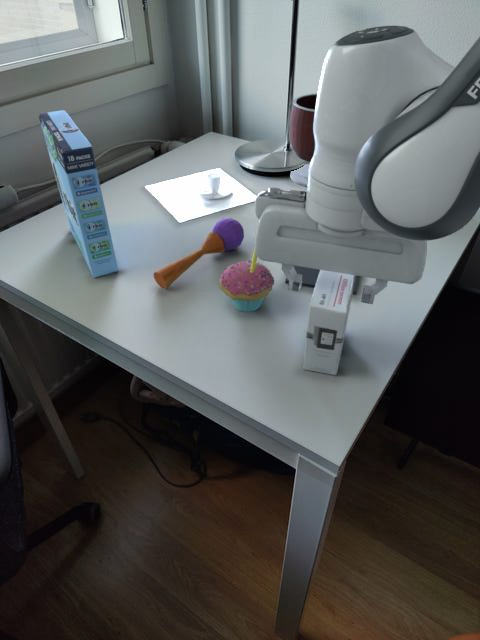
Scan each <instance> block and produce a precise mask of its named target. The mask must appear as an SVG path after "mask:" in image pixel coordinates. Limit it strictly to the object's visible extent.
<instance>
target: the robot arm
mask: <svg viewBox="0 0 480 640" xmlns="http://www.w3.org/2000/svg"><path fill="white" fill-rule="evenodd" d="M320 72H321V73H320V78H319V83H318V89H317V100H316V107H315V115H314V124H313V133H314V138H315V150H314V154H313V157H312V159H311V162H309V164H310V166H309V174H308V184H307V187H306V191H305V190H296V189H282V188H279V187H269V188H268V189H267V190H262V191H260V193H258V194H257V195H256V196H257V197H256V201H254V202H255V204H254V207H255V208H254V213H255V216H256V218H257V220H258V224H257V228H256V232H255V233H256V234H255V239H254V240H255V242H254V248H255V253H256V255H257V259H259V260H260V261H264V262H270V263H275V264H276V263H277V264H281V270H282V272H283V274H284V276H285V277H286V278H287V279H288V280H289V284H288V291H293V292H299V293H300V291H301V288H302V286H301V285H302V277H303V275H302V274H297V273H296V271H295V269H294V267H293V266H300V267H307V268H313V269H319V270H325V271H331V272H338V273H344V274H350V275H356V276H358V277H363V278H370V279H375V281H373V283H372V284H370V285H368V284H364V285H363V288H362V289H363V290H362V295H361V300H360V302H361V303H364V304H368V305H373V304H374V301H375V298H376V297H375V296H377V295H378V294H379V293H381V292H382V291H383V290H384V289H386V288H387V286H388V282H393V283H400V284H406V285H414V284H415V283H418V282H419V281H420V280H422V278H423V275H424V272H425V267H426V261H427V253H428V241H434V240H439V239H443V238H446V237H448V236H451V235H453V234H455V233H457V232H458V231H460V230H461V229H463V228H464V227H465V226H466V225H468V223H470V222H471V221H472V220H473V218H474V217H475V216H476V214H477V213H478V211H479V209H480V36H479V37H478V38H477V39H476V41H475V42H474V43H473V44H472V45H471V47H470V48H469V49H468V50H467V52H466V53H465V54H464V55H463V57H462V58H461V59H460V61H459V62H458V63H457V65H456V66H455V65H452V64H450V63H449V62H448V61H446V60H445V59H443V58H441V57H440V56H438V54H437V53H435V52H434V51H433V50H432V49H430V47H428V46H427V45H426V44H425V43H424V41H423V40H422V39H421V37H420V35H419V34H418V32H417V31H416V30H414V28H410V27H408V26H404V25H382V26H375V27H368V28H365V29H361V30H356V31H353V32H351V33H348V34H346V35H344V36H343V37H341V38H340V39H337V40H336V41H335V42H334V43H333V44H332V45H331V46H330V47H329V49H328V51H327V53H326V55H325V58H324V62H323V65H322V69H321V71H320Z"/></svg>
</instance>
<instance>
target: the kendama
mask: <svg viewBox="0 0 480 640" xmlns="http://www.w3.org/2000/svg"><path fill="white" fill-rule="evenodd" d="M244 238H245V231H244V228H243V225H242V224H241V222H239V221H238V220H236V219H234V218H231V217H227V218H221V219H219V221H217V222H216V223H215V224H214V226H213V228H212V231H210V232H209V233H208V234H207V236H206V238H205V240H204V241H203V244H202V246H201V248H200V249H198V250H195V251H194V252H192V253H190V254H188V255H186V256H184V257H182V258H180V259H179V260H176V261H174V262H172V263H170V264H168V265H166V266H164V267H162V268H160V269H158V270H156V271H154V272H153V279H154V281H155V282H156V284H157V286H159V287H160V288H161V289H163V290H164V289H165V290H166V289H167V288H169V286H170V285H171V284H173V283H174V282H175V281H176V280H177V279H178V278H179V277H181V276H182V275H184V273H185V272H186V271H187V270H188V269H189V268H191V267H192V266H193V265H194V264H195V263H196V262H197V261H199V260H200V259H201V258H202V257H203V256H204V255H209V254H211V255H212V254H220V253H221V254H222V253H223V252H224V251H233V250H235V249H237V248H238V247H239V246H241V245H242V243H243V241H244Z"/></svg>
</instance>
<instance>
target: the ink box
mask: <svg viewBox="0 0 480 640" xmlns="http://www.w3.org/2000/svg"><path fill="white" fill-rule="evenodd" d="M354 281H355V275H350V274H344V273H338V272H331V271H325V270H320V273H319V276H318V279H317V282H316V285H315V288H314V289H313V292H312V295H311V298H310V302H309V306H308V315H307V317H308V318H307V326H306V335H305V336H306V337H305V346H304V354H303V365H302V369H303V370H306V371H311V372H316V373H322V374H325V375H326V374H327V375H332V376H337V374H338V370H339V365H340V361H341V357H342V356H341V355H342V351H343V345H344V340H345V336H346V330H347V325H348V319H349V315H350V309H351V308H350V307H351V303H352V297H353V294H352V292H353V286H354Z"/></svg>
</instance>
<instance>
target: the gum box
mask: <svg viewBox="0 0 480 640" xmlns="http://www.w3.org/2000/svg"><path fill="white" fill-rule="evenodd" d="M37 116H38V120H39V122H40V127H41V131H42V134H43V137H44V142H45V144H46V148H47V152H48V156H49V159H50V163H51V166H52V170H53V174H54V177H55V181H56V184H57V188H58V192H59V196H60V199H61V202H62V206H63V210H64V214H65V216H66V220H67V223H68V227H69V230H70V232H71V234H72V237H73V238H74V240H75V242H76V244H77V246H78V248H79V250H80V252H81V254H82V256H83V258H84V261H85V263H86V265H87V267H88V269H89V271H90V274H91V276H92V277H93V278H94V279H96V278H100V277H103V276H106V275H110V274H114V273H117V272H119V266H118V261H117V258H116V253H115V248H114V243H113V239H112V234H111V229H110V225H109V220H108V216H107V215H108V214H107V211H106V210H107V209H106V206H105V202H104V197H103V193H102V187H101V182H100V178H99V174H98V170H97V164H96V160H95V159H96V158H95V155H94V149H93V145H92V144H91V143H90V142H89V140H88V139H87V137H86V136H85V135H84V134H83V133H82V131H81V129H80V128H79V127H78V126H77V124H76V123H75V122H74V120H73V119H72V118H71V116H70V115H69V113H68V112H67V111H66V110H65V109H62V110H56V111H48V112H42V113H38V114H37Z"/></svg>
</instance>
